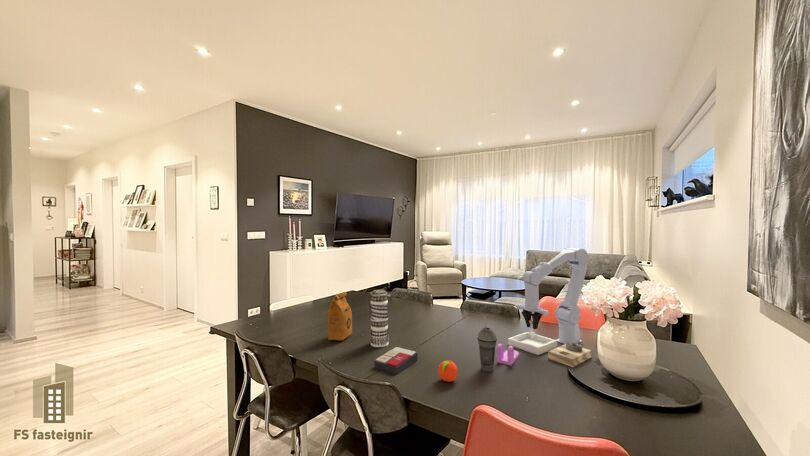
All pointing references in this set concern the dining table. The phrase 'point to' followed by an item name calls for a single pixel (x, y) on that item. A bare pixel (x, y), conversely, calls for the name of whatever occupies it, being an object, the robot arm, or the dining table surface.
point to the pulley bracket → (569, 354)
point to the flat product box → (396, 360)
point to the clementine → (448, 371)
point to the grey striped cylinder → (379, 318)
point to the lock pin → (532, 329)
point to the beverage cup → (487, 347)
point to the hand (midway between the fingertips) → (532, 327)
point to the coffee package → (339, 318)
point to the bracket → (506, 355)
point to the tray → (532, 343)
